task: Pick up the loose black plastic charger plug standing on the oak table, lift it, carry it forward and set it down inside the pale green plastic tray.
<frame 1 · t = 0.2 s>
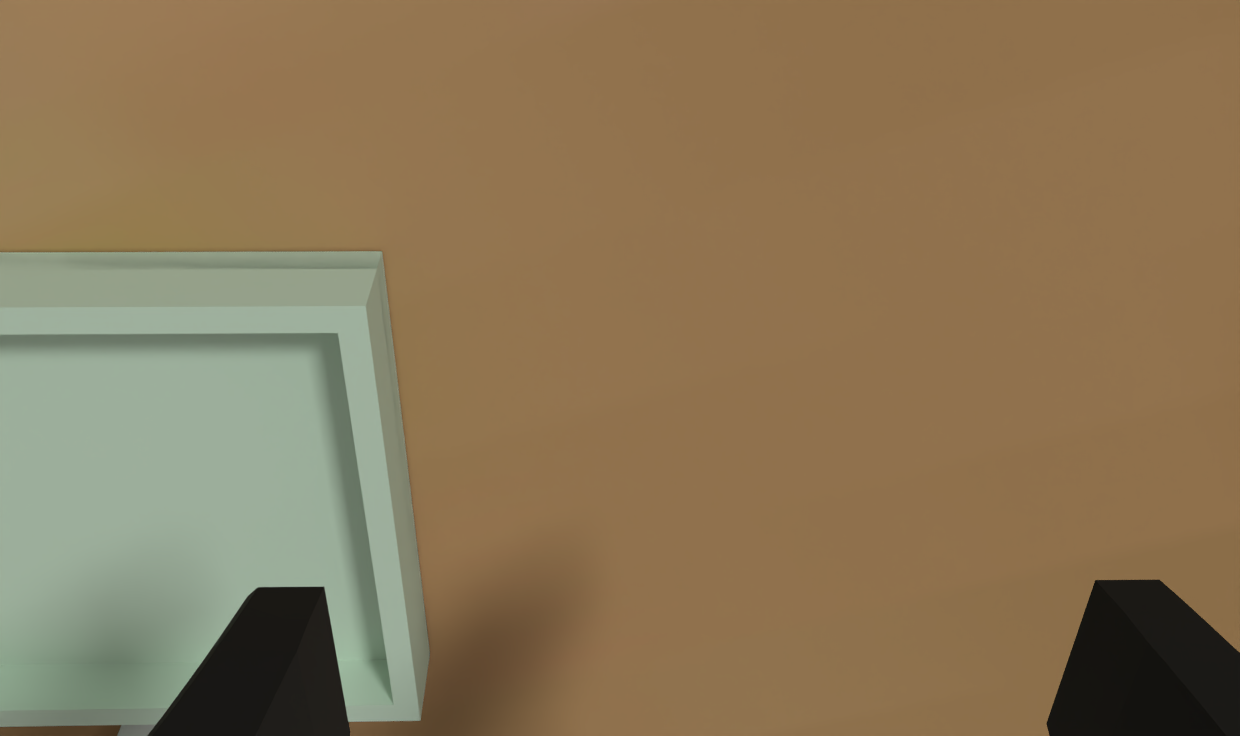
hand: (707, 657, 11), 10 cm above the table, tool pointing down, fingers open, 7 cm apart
tray: (123, 480, 22), on the table
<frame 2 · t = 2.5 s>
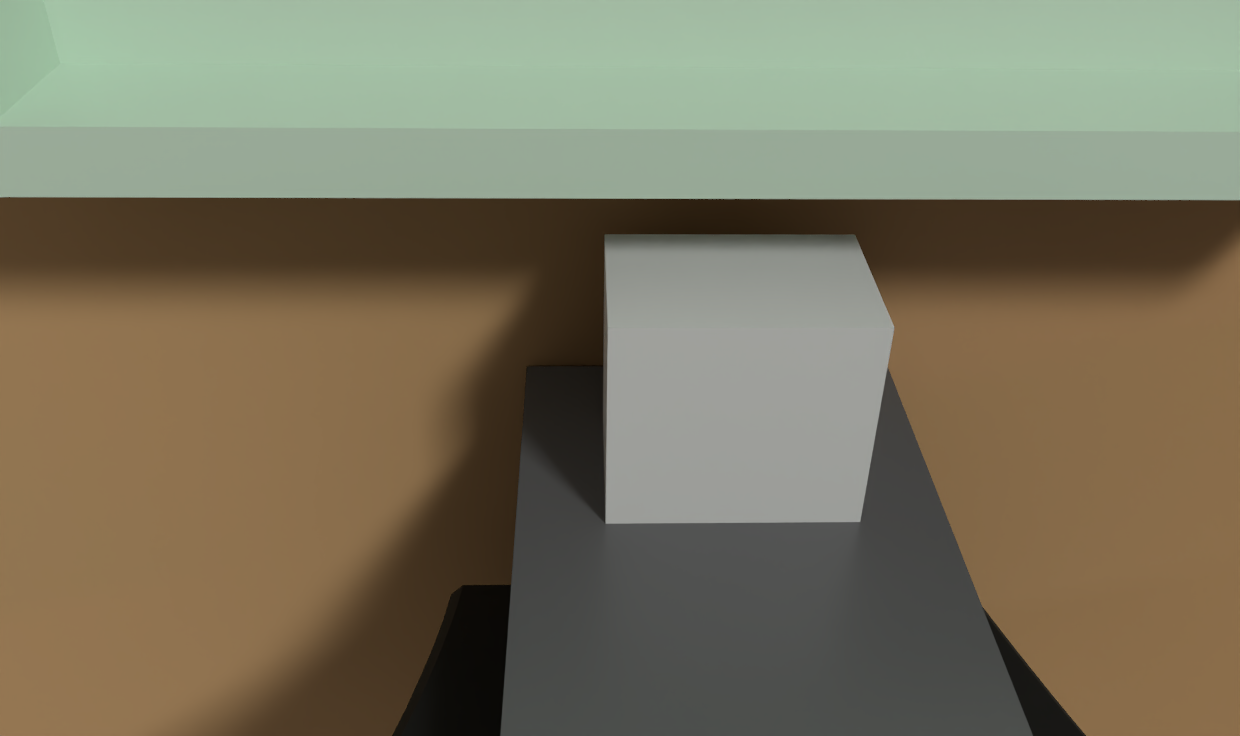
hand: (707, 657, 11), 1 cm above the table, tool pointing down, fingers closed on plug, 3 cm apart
plug: (694, 554, 12), on the table, touching gripper
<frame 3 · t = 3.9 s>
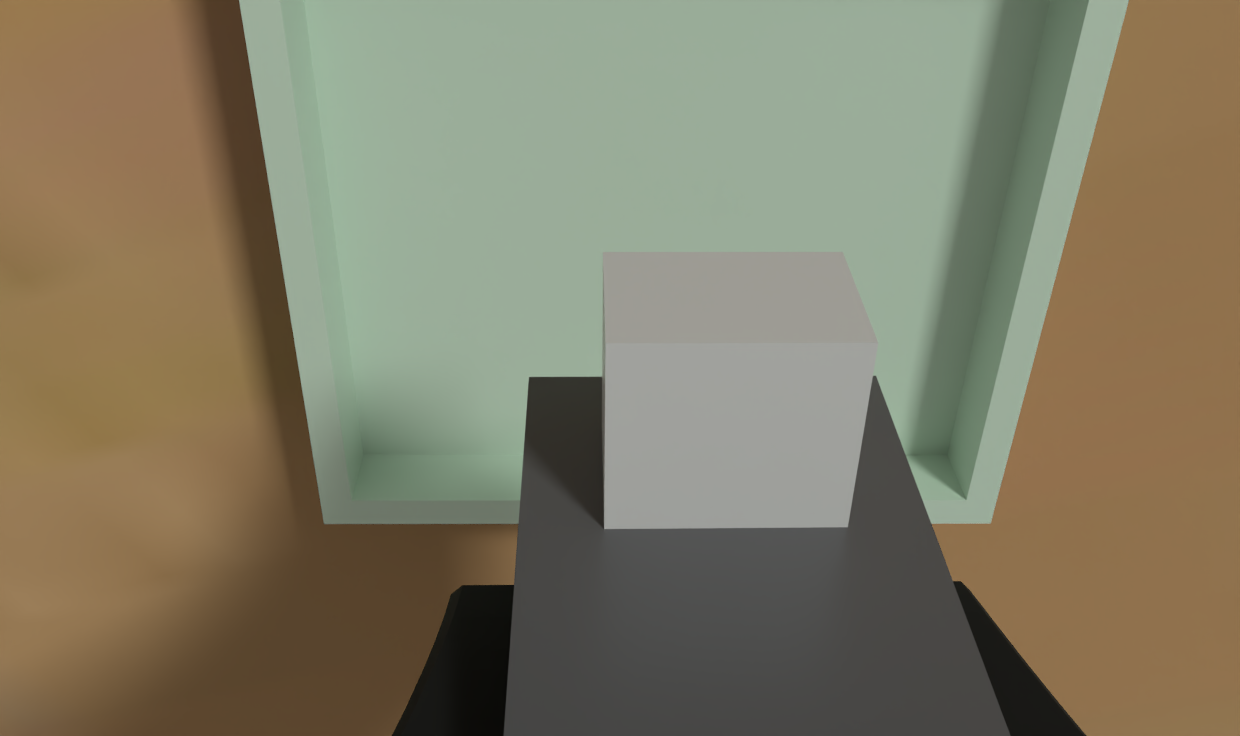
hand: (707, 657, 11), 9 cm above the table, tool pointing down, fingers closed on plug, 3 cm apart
tray: (667, 199, 18), on the table
plug: (691, 557, 13), point 7 cm above the table, touching gripper
when the fingers open (3 cm above the table, at t = 5.4 s): plug stays where it is, resting on tray.
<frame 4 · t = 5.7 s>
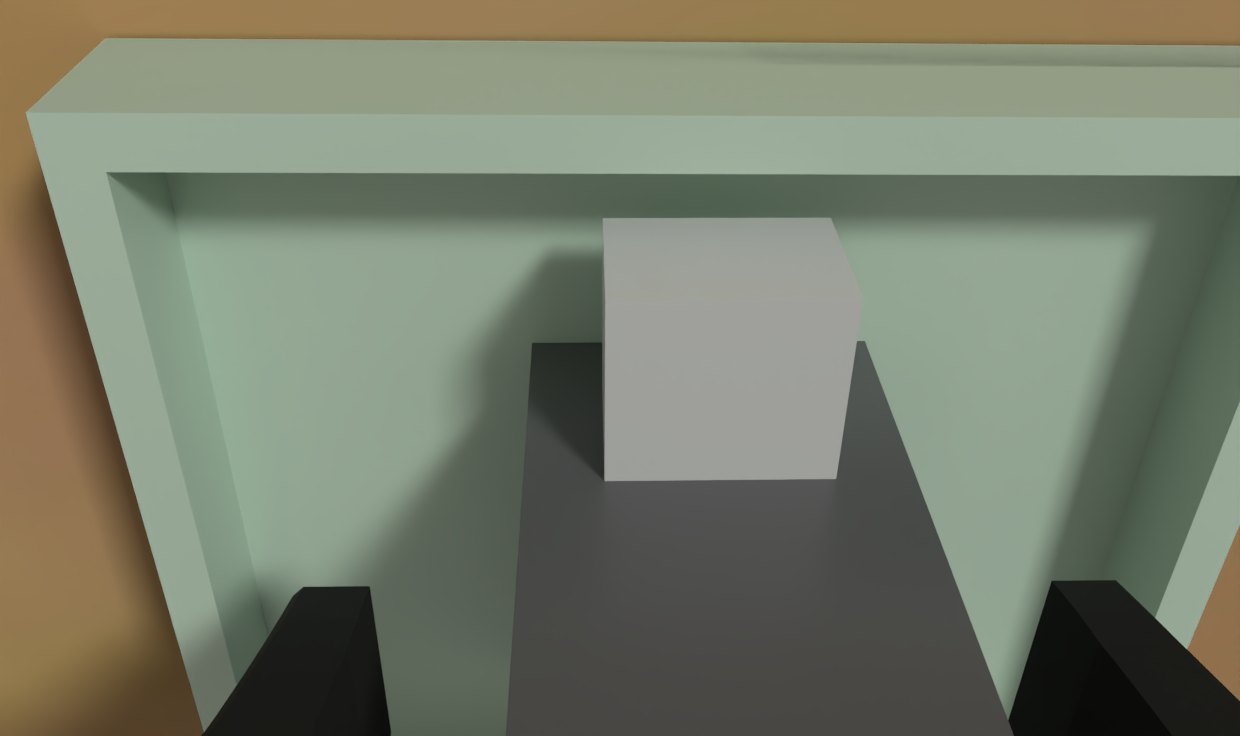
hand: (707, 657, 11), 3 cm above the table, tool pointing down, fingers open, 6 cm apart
tray: (684, 465, 13), on the table
plug: (688, 519, 13), point 1 cm above the table, touching tray
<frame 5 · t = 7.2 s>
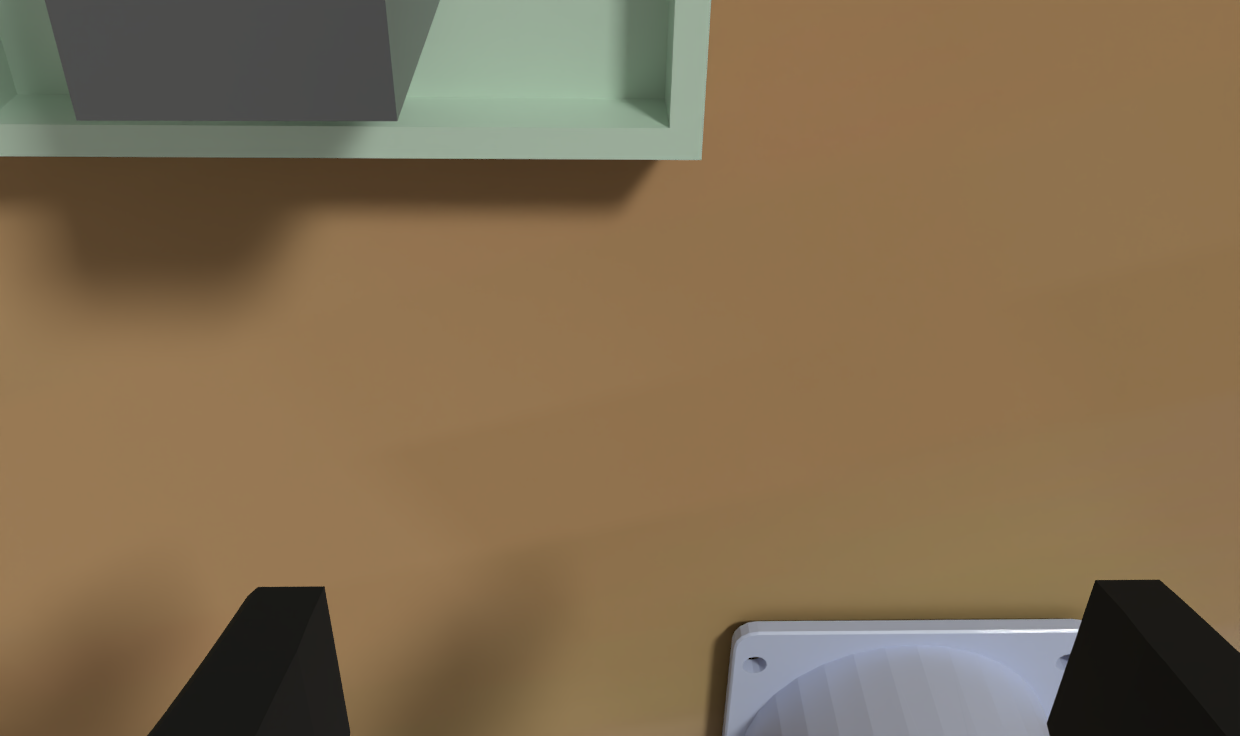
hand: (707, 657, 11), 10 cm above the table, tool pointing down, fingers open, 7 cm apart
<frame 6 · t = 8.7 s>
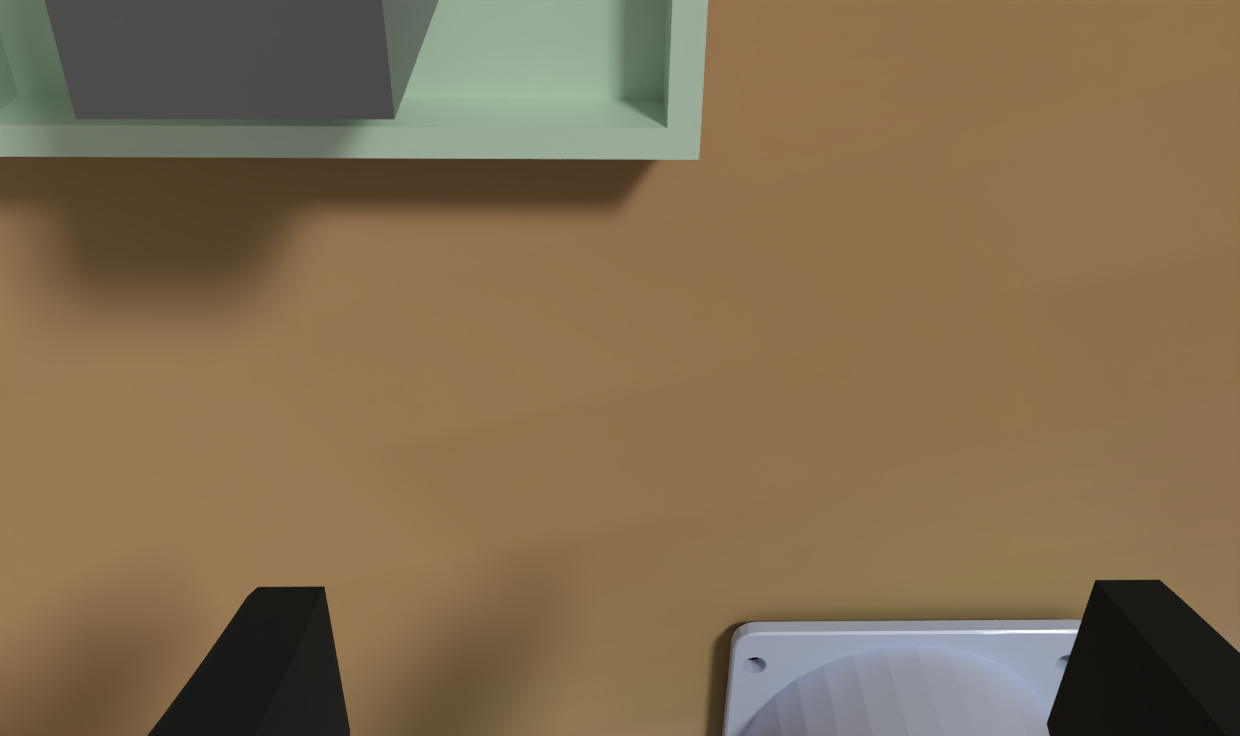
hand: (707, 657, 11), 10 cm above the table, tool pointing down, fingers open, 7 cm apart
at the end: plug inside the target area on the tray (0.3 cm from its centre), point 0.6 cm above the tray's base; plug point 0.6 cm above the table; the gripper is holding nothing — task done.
